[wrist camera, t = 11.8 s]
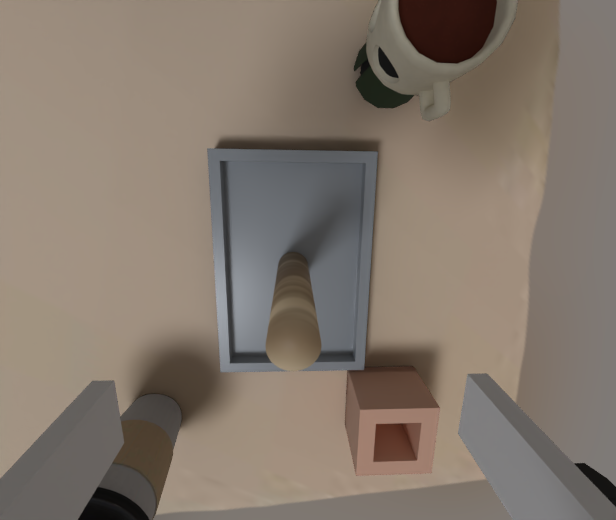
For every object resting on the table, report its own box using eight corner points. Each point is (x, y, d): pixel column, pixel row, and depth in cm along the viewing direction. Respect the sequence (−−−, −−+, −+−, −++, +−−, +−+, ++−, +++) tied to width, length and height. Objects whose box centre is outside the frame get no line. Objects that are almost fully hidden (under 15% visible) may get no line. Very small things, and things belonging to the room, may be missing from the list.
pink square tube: (347, 367, 37) (360, 409, 31) (413, 366, 38) (440, 407, 31) (344, 424, 39) (356, 475, 33) (407, 422, 40) (431, 473, 33)
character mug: (340, 11, 29) (378, -117, 16) (420, -3, 29) (520, -141, 16) (356, 142, 31) (399, 119, 19) (429, 129, 32) (521, 98, 19)
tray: (213, 150, 31) (207, 148, 29) (371, 153, 32) (377, 151, 29) (225, 359, 36) (220, 372, 34) (359, 357, 37) (364, 369, 35)
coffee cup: (98, 399, 37) (-27, 543, 22) (173, 366, 36) (94, 493, 22) (142, 460, 39) (55, 628, 25) (213, 430, 39) (167, 584, 24)
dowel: (277, 251, 33) (264, 320, 17) (308, 251, 33) (322, 320, 17) (278, 280, 33) (265, 371, 18) (307, 280, 34) (320, 370, 18)
